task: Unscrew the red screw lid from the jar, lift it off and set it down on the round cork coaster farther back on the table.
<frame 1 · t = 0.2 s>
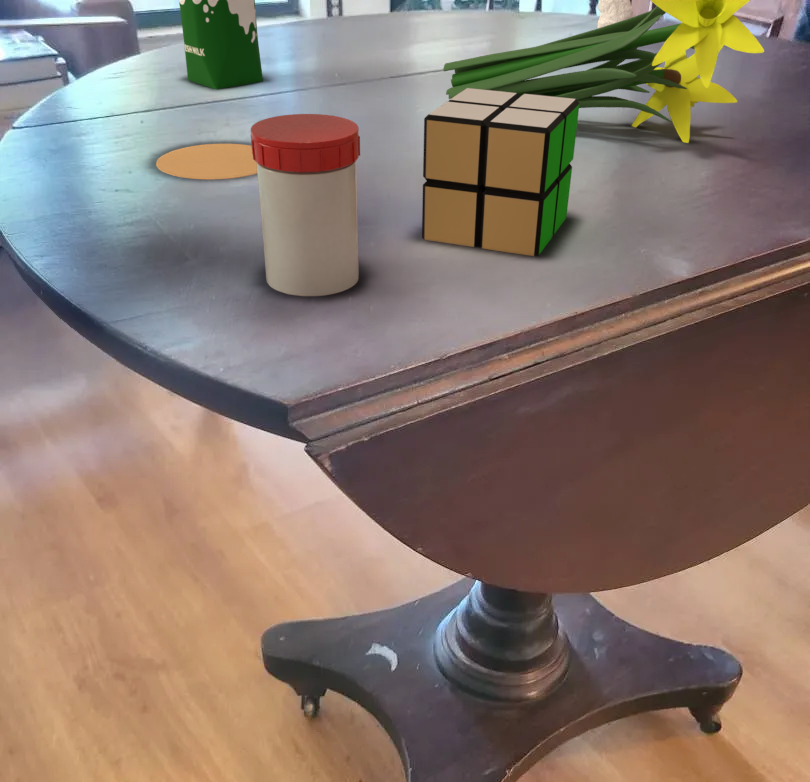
koala figurine: (606, 48, 143), on the table
daffodil flowers: (581, 137, 104), on the table
milk carton: (225, 85, 122), on the table
jar: (312, 281, 71), on the table
puzzle cube: (495, 234, 80), on the table
coaster: (217, 164, 94), on the table
lid: (305, 133, 65), point 11 cm above the table, screwed on, not yet turned
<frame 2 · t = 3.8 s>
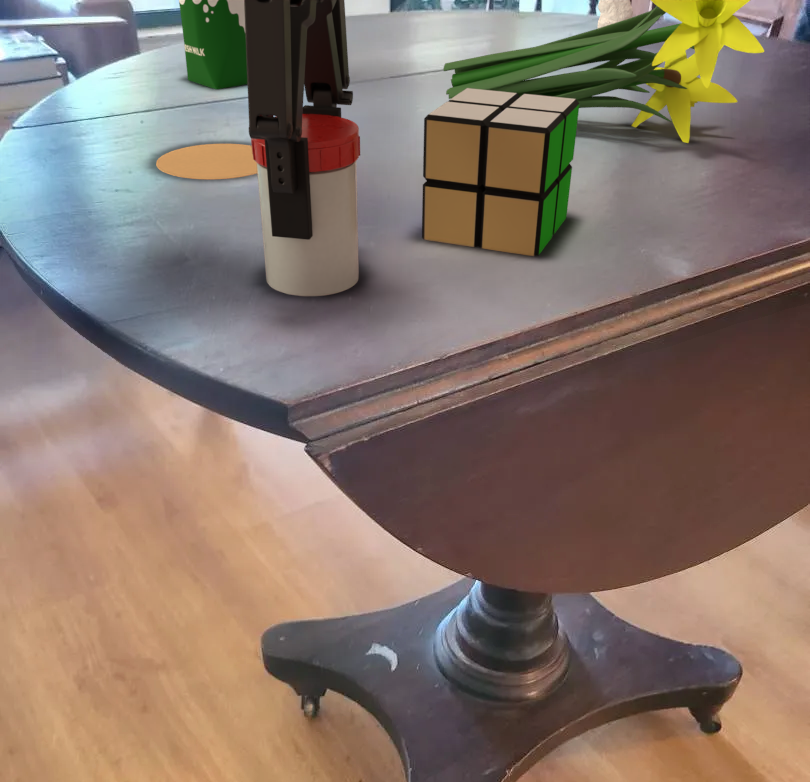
hand: (309, 216, 68), 5 cm above the table, tool pointing down, fingers closed on lid, 7 cm apart
lid: (305, 133, 65), point 11 cm above the table, screwed on, not yet turned, touching gripper
everything else where it was.
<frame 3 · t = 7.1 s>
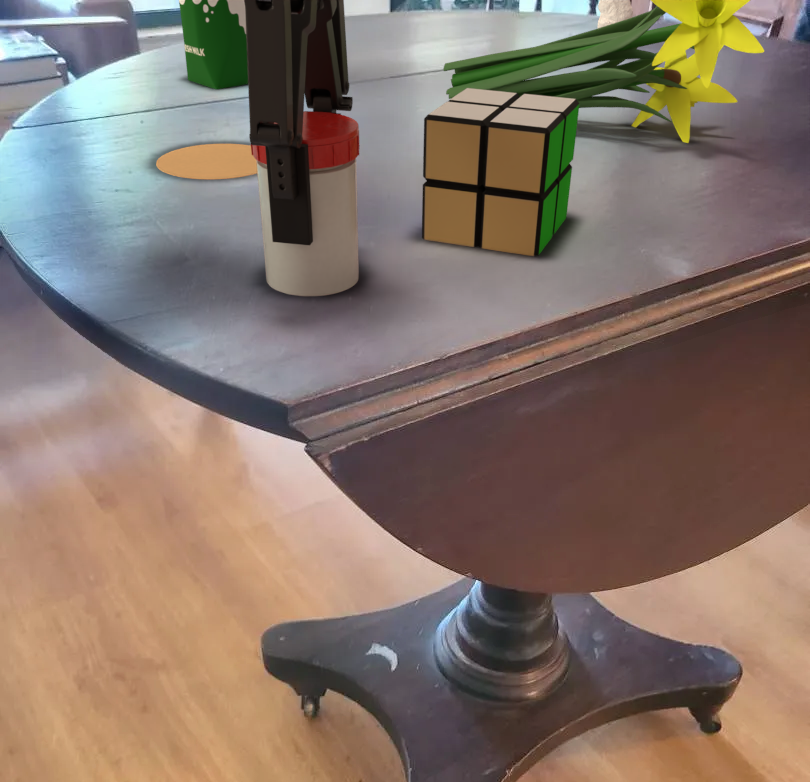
hand: (309, 221, 69), 5 cm above the table, tool pointing down, fingers closed on lid, 7 cm apart
lid: (304, 131, 65), point 11 cm above the table, turned 127° so far, risen 0.2 cm, still on its thread, touching gripper
everything else where it was.
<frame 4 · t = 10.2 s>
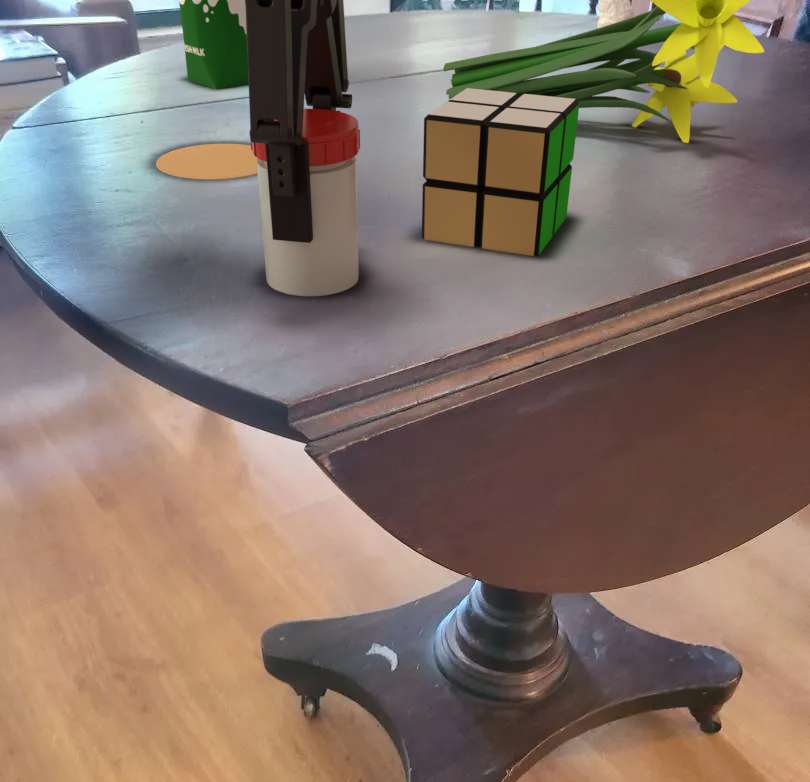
hand: (309, 219, 68), 5 cm above the table, tool pointing down, fingers closed on lid, 7 cm apart
lid: (304, 128, 65), point 11 cm above the table, turned 254° so far, risen 0.3 cm, still on its thread, touching gripper
everything else where it was.
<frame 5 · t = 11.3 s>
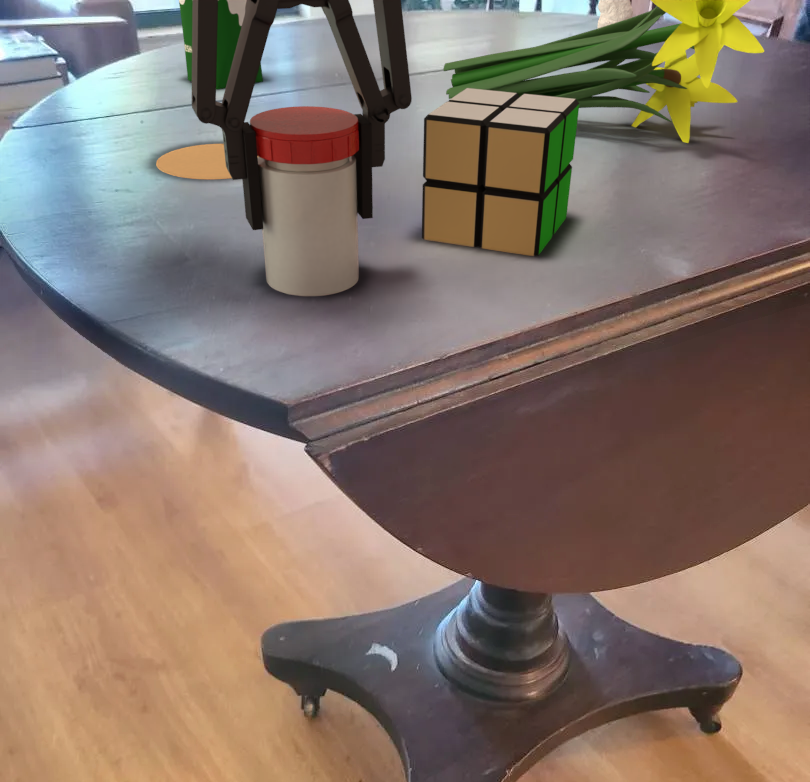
hand: (309, 217, 68), 5 cm above the table, tool pointing down, fingers closed on lid, 7 cm apart
lid: (304, 125, 64), point 11 cm above the table, off its thread, touching gripper
everything else where it was.
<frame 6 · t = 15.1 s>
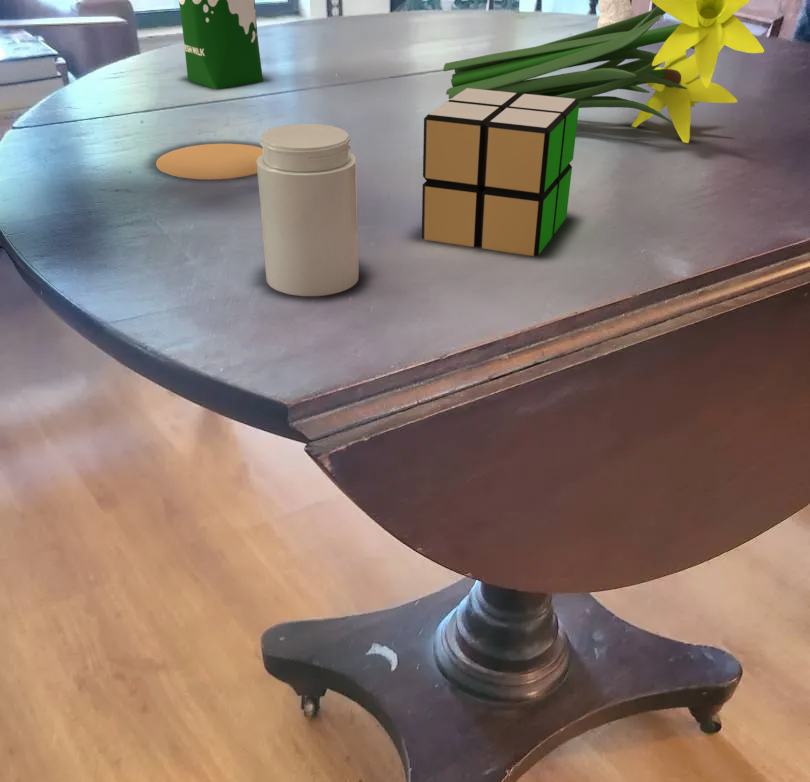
when the fingers open (2 cm above the table, at t = 19.9 s): lid drops 6 cm, resting on coaster.
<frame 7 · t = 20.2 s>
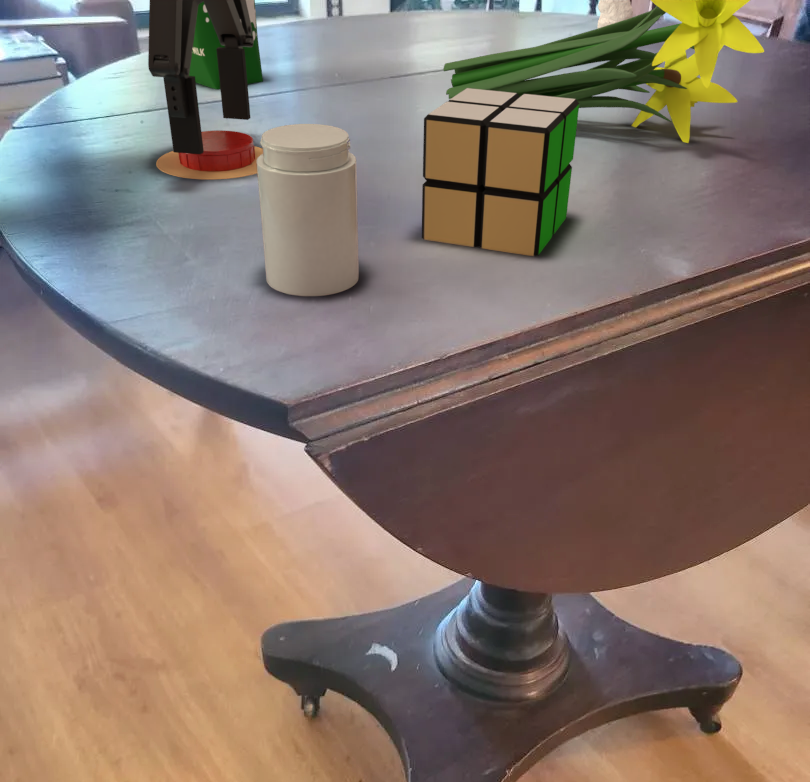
hand: (214, 134, 93), 3 cm above the table, tool pointing down, fingers open, 12 cm apart
lid: (215, 144, 93), point 2 cm above the table, off its thread, touching coaster
everything else where it was.
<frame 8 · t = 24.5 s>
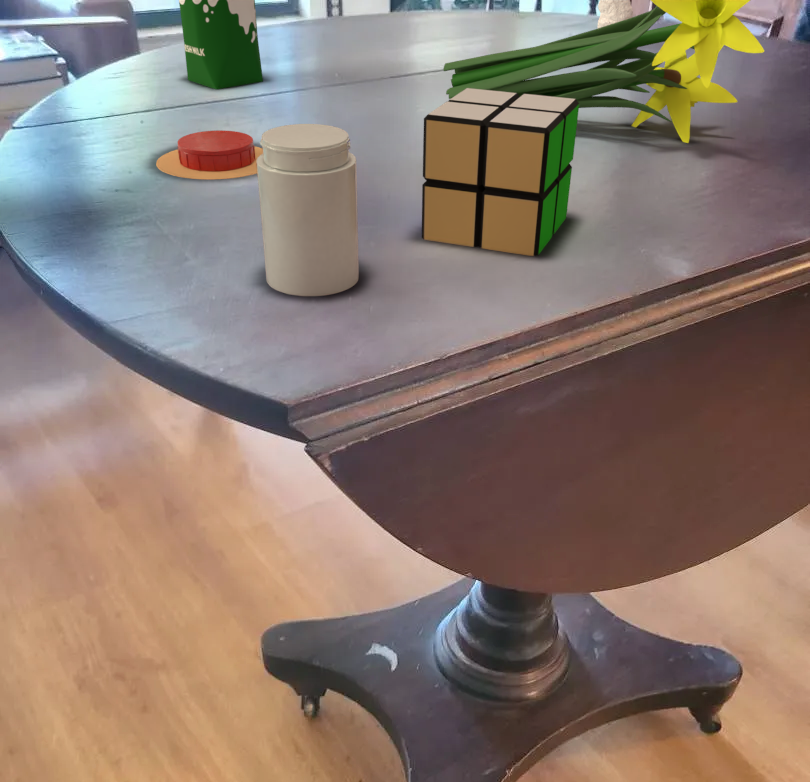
nothing on the table moved.
at the end: lid came off its thread; lid inside the target area on the coaster (0.0 cm from its centre), point 1.9 cm above the coaster's base; the gripper is holding nothing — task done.
